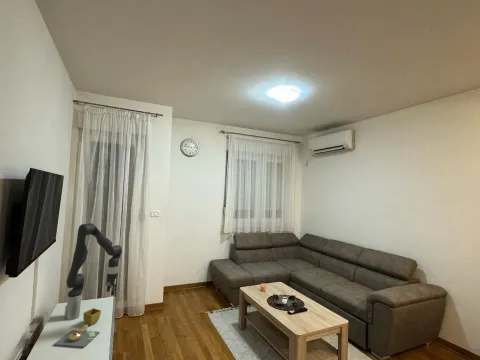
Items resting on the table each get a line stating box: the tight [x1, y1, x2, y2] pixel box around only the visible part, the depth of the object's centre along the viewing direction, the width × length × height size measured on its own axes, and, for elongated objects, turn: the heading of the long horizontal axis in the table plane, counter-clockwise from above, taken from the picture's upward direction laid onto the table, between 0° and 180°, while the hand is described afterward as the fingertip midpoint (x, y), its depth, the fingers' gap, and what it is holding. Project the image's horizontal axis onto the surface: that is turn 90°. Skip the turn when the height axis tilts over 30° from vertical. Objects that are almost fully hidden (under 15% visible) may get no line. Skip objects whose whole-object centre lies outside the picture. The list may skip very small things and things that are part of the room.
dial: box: [69, 323, 89, 342], centre depth 168 cm, size 15×7×4 cm, turn 178°
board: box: [53, 329, 100, 349], centre depth 166 cm, size 21×18×2 cm
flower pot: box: [82, 307, 102, 326], centre depth 186 cm, size 9×9×9 cm
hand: (110, 293), depth 185 cm, fingers open, 8 cm apart
